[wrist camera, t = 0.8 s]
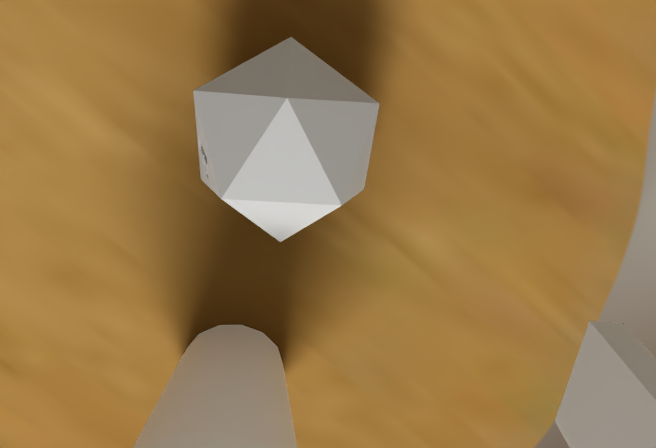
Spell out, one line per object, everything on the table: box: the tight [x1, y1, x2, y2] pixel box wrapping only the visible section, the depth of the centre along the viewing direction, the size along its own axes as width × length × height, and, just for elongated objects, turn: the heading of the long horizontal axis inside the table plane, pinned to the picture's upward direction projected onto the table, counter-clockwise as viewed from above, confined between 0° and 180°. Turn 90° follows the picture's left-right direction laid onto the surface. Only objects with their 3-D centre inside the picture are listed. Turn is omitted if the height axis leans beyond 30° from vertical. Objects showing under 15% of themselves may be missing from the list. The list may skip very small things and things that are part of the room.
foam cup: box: [133, 325, 297, 448], centre depth 31 cm, size 10×9×13 cm
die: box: [193, 37, 380, 242], centre depth 27 cm, size 8×9×10 cm
